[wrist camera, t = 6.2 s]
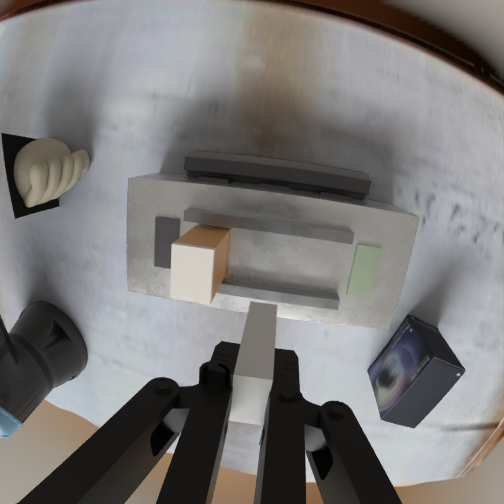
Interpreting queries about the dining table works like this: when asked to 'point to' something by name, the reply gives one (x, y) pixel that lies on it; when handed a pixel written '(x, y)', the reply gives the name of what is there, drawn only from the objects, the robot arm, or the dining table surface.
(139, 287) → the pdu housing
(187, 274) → the lever
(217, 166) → the grooved gray rail
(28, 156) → the decorative object
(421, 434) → the dining table surface
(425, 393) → the small box
